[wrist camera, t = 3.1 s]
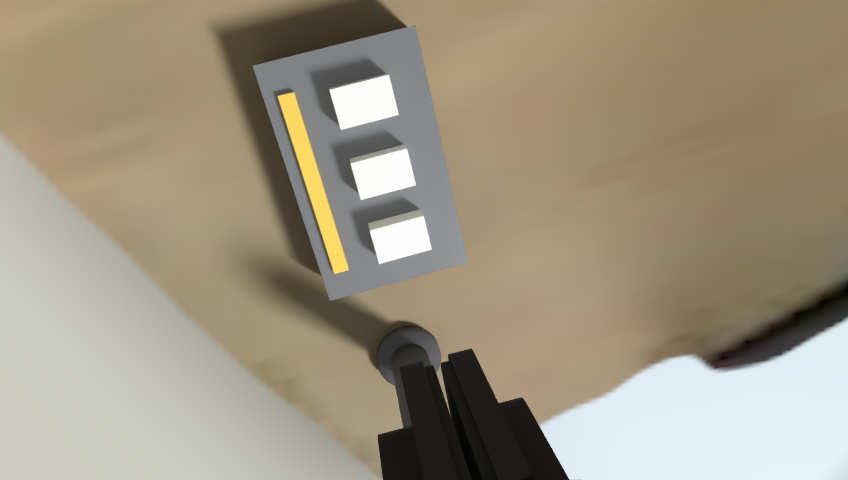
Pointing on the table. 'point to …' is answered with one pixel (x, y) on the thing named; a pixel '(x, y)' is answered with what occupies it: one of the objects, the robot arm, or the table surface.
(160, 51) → the table surface
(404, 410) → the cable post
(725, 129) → the table surface
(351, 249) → the switch panel
